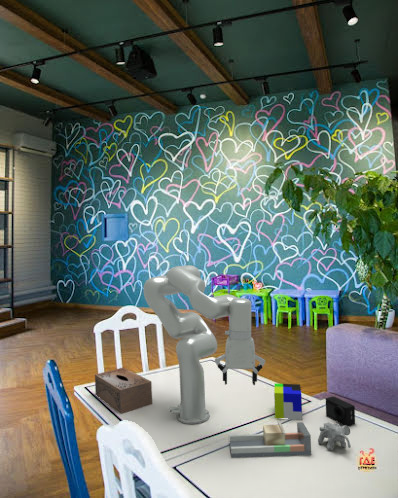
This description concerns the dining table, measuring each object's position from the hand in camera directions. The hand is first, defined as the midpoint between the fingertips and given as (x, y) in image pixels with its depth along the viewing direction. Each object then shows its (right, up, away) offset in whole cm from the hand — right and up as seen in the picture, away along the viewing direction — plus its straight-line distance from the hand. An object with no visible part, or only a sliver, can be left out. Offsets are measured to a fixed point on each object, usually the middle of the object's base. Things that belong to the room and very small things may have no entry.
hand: (239, 383), depth 134 cm
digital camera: (+38, -18, +10) cm, 43 cm away
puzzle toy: (+21, -18, +17) cm, 32 cm away
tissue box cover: (-48, -21, +37) cm, 64 cm away
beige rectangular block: (+10, -17, -8) cm, 21 cm away
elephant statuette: (+31, -18, -9) cm, 37 cm away
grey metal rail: (+9, -19, -8) cm, 22 cm away
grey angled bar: (+20, -17, -8) cm, 27 cm away
